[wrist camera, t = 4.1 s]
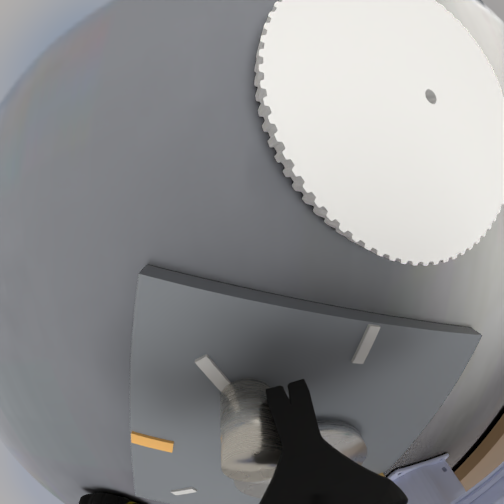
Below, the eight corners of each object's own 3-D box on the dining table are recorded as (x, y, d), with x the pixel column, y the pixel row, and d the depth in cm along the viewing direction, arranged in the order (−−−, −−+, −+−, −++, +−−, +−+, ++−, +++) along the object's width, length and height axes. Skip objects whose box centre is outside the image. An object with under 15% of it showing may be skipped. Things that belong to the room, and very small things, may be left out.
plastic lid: (477, 250, 13) (505, 261, 10) (249, 251, 12) (255, 270, 9) (466, 42, 9) (490, 33, 7) (254, -26, 8) (259, -56, 6)
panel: (471, 327, 14) (483, 336, 13) (349, 493, 18) (353, 503, 17) (146, 264, 11) (136, 275, 10) (137, 485, 15) (135, 497, 14)
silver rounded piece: (369, 456, 14) (389, 496, 10) (265, 495, 14) (272, 537, 10) (320, 342, 11) (356, 406, 7) (160, 406, 11) (146, 472, 7)
